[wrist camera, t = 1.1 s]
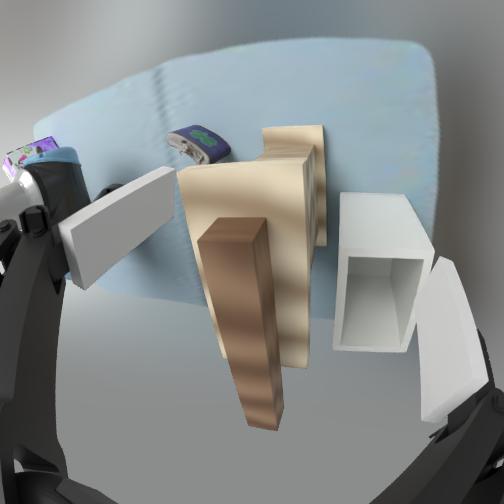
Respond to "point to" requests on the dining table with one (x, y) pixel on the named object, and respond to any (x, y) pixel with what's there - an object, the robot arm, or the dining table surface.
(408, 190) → the dining table surface
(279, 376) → the walnut block
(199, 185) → the birch pedestal
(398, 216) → the white open box
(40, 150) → the candy box
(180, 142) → the flask
